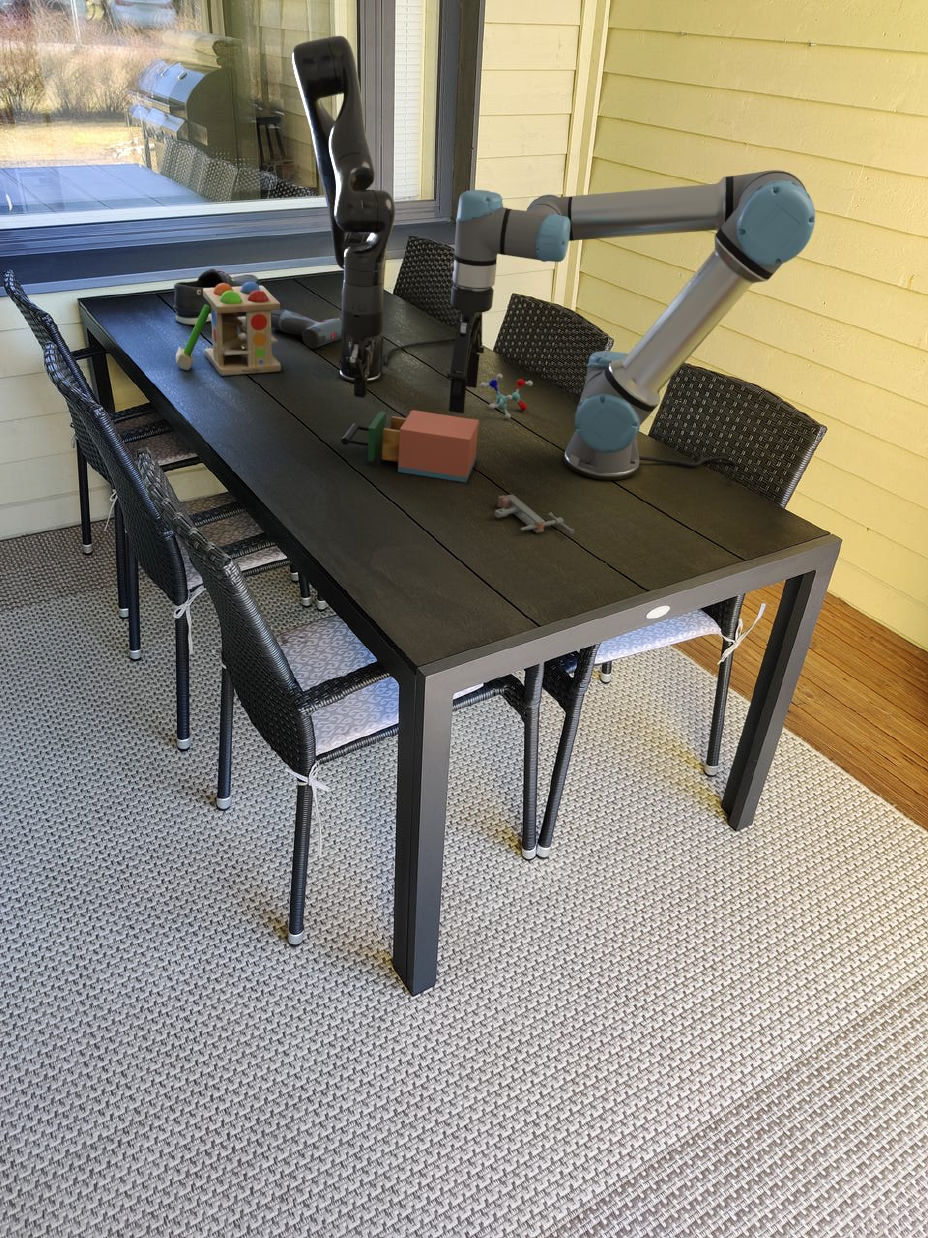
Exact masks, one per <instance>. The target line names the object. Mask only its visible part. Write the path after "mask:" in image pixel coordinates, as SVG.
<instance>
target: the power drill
mask: <svg viewBox="0 0 928 1238" xmlns="http://www.w3.org/2000/svg"><path fill="white" fill-rule="evenodd" d="M271 328H274V329H276V330H278V331H281V332H284V333H288V334H290V335H296V336H300V337H302V341H303V343H304V344H305V346H306V347H308V348H309V349H316V348H319V347H322V346H325V345H328V344H330V343H333V342H336V341H338V340H341V317H338V318H331V319H324V320H322V321H320V322H319V321H316V320H314V319H312V318H309V317H306V316H304V315H302V314H300V313H297V312H293V311H291V310H288V309H283V308H280V310H271Z"/></svg>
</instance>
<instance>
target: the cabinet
mask: <svg viewBox="0 0 928 1238" xmlns="http://www.w3.org/2000/svg"><path fill="white" fill-rule="evenodd" d="M406 418H407V419H406V421H405V422H404V424H403V425H402V427H401V429H400V440H399V460H398V463H397V464H398V465H397V472H398V473H405V474H410V475H416V476H422V477H423V476H424V477H428V478H429V477H430V478H436V479H442V480H447V481H454V482H461V483H467V481H468V480H469V477H470V475H471V473H472V470H473V468H474V465H475V463H476V458H477V448H478V447H477V445H478V436H479V425H480V420H479V419H474V418H467V417H461V416H454V415H447V414H441V413H434V412H428V411H421V410H420V411H419V410H414V409H412V410H411V411H410V412H409V414H408V415H407V417H406Z"/></svg>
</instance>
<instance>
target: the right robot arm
mask: <svg viewBox="0 0 928 1238" xmlns="http://www.w3.org/2000/svg"><path fill="white" fill-rule="evenodd" d="M458 199H459V200H458V206H457V214H456V218H455V240H454V254H453V255H454V256H453V262H451V263H450V265H449V268H450V269H452V270H453V272H452V282H453V284H452V285H451V291H450V306H451V307H452V308H453V309H455V310H458V311H459V312H461V314H460V317H459V318H457V322H456V323H455V324H456V328H455V329H456V331H455V336H456V338H455V339H454V345H453V351H452V357H451V358H452V359H451V365H450V370H449V371H450V372H447V377H446V378H447V379H451V380H450V392H449V403H448V405H449V407H448V412H450V413H457V414H464V413H465V404H466V393H467V388H474V389H476V388H477V386H478V375H479V365H480V354H484V353H485V352H484V351H485V347H483V313H487V312H489V311H491V309H492V308H493V302H494V301H493V300H494V288H493V286H494V285H495V283H496V273H497V259H498V255H502V256H507V257H515V258H522V259H528V260H535V261H540V262H543V263H546V262H552V263H553V262H555V263H560V262H562V261H564V260H565V258H566V255H567V252H568V247H569V242H574V241H584V240H598V239H599V240H600V239H613V238H628V237H642V236H654V235H668V234H669V235H670V234H684V233H697V232H698V233H699V232H712V231H715V232H716V233H715V234H714V249H713V251H712V252H711V254H709V256H708V257H707V258H706V260H705V261H704V262H703V263H702V264H701V265H700V267H699V268H698V269H697V270H696V271H695V273H694V274H693V275H692V276H691V277H690V278H689V280H688V281H687V283H685V285H683V287H682V288H681V290H680V291H679V292H678V293H677V295H676V296H675V297H674V298H673V299H672V301H671V302H670V303H669V304H668V305H667V306H666V307H665V309H664V310H663V311H662V313H661V314H660V315H659V316H658V318H657V319H656V320H655V321H654V322H653V323H652V325H650V327H649V328H648V329H647V331H646V332H645V334H644V335H642V337H641V338H640V339H639V340H638V342H636V344H635V345H634V346H633V348H632V349H631V350H630V351H629V353H626V352H620V351H612V350H611V351H608V350H607V351H606V350H603V351H602V350H601V351H596V352H593V353H592V354H591V355H590V356H589V359H588V363H587V364H586V369H587V370H586V376H585V381H584V385H583V389H582V392H581V396H580V399H579V402H578V405H577V407H576V410H575V412H574V426H575V431H574V433H573V434H572V436H571V438H570V441H569V442H568V444H567V446H566V449H565V452H564V459H563V461H564V465H566V466H567V468H569V469H570V470H571V471H573V472H574V473H577V474H578V475H581V476H584V477H586V478H590V479H593V480H600V481H622V480H627V479H629V478H632V477H634V476H635V475H637V473H638V470H639V466H640V461H647V462H656V463H665V464H672V465H673V464H674V465H678V466H683V467H689V468H695V467H699V466H701V464H703V463H706V462H713V461H725V462H728V463H729V464H731V465H732V466H737V463H736V461H734V460H733V459H732V460H728V458H729V457H728V458H727V456H721V455H720V456H710V457H703V458H701V459H700V460H698V461H696V462H685V461H681V460H678V459H677V460H676V459H670V458H662V457H661V458H660V457H652V456H651V457H650V456H643V455H641V456H640V455H639V447H638V440H637V436H638V435H639V432H640V427H641V426H642V425H643V423H644V422H645V421H646V420H647V419H648V417H650V415H651V414H652V413H653V412H654V411H655V409H657V407H658V406H659V405H660V403H661V398H660V397H661V396H660V392H661V390H662V389H663V388H664V387H665V385H666V384H667V383H668V382H669V381H670V379H672V377H673V376H674V375H675V374H676V372H678V370H679V369H680V368H682V366H683V365H684V364H685V362H686V361H687V360H688V359H689V358H690V357H691V356H692V355H693V353H694V352H695V351H696V350H697V348H699V346H700V345H701V344H702V343H703V342H704V341H705V339H706V338H707V337H708V335H710V334H711V332H713V330H715V328H716V327H717V326H718V325H719V323H721V321H722V320H723V319H724V318H725V316H726V315H728V313H730V311H731V309H732V308H733V307H734V306H735V305H736V304H737V303H738V302H739V300H741V298H742V297H743V296H744V295H745V293H747V291H748V290H749V289H750V288H751V286H753V285H754V284H756V283H763V282H765V283H766V282H768V281H770V279H771V278H772V277H773V275H774V274H775V273H776V272H777V271H779V269H780V268H781V267H782V265H783V264H786V263H788V262H789V261H791V260H793V259H794V258H796V257H797V256H798V255H800V253H802V252H803V250H804V249H805V248H806V247H807V245H808V243H809V242H810V240H811V238H812V235H813V233H814V232H813V231H814V228H815V224H816V210H815V205H814V202H813V199H812V198H811V196H810V193H808V191H807V189H806V187H805V185H804V183H803V182H802V180H801V179H800V178H798V177H797V176H796V175H795V174H793V173H791V172H788V171H785V170H778V169H777V170H776V169H771V170H763V171H758V172H751V173H744V174H738V175H737V174H736V175H729V176H723V177H721V178H720V179H719V181H718V182H716V183H710V184H698V185H696V184H695V185H685V186H674V187H661V188H649V189H640V190H637V189H636V190H627V191H616V192H603V193H592V194H579V195H578V194H577V195H573V196H571V195H570V196H557V195H555V194H544V195H543V194H542V195H540V196H538V197H537V198H535V199H533V201H531V202H530V204H529V205H528V206H527V208H526V210H522V209H513V208H509V207H505V206H504V203H503V196H502V195H501V194H500V193H497V192H495V191H491V190H490V191H489V190H484V189H470V190H466V191H464V192H463V193H462V194H460V196H459V197H458Z"/></svg>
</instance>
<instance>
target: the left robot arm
mask: <svg viewBox="0 0 928 1238" xmlns="http://www.w3.org/2000/svg"><path fill="white" fill-rule="evenodd" d="M291 57H292V66H293V70H294V75H295V79H296V83H297V86H298V90H299V92H300V97H301V100H302V104H303V107H304V111H305V114H306V118H307V121H308V126H309V129H310V134H311V139H312V144H313V148H314V155H315V159H316V164H317V170H318V173H319V177H320V182H321V186H322V190H323V195H324V198H325V202H326V206H327V212H328V217H329V223H330V230H331V239H332V248H333V253H334V259H335V261H336V263H337V265H338V267H339V268H340V269H342V270H343V285H342V290H341V307H340V308H341V310H340V311H341V312H340V314H341V315H340V318H341V338H340V358H339V360H338V365H339V366H340V370H339V376H340V377H341V378H342V380H345V381H348V382H352V383H353V396H354V397H356V398H361V399H364V398H365V397H366V396H367V394H368V384H369V383H373V382H376V381H378V380H380V378H381V375H382V374H383V367H384V366H386V365H387V364H388V361H389V360H388V359H389V356H390V354H392V353H394V352H396V351H400V350H403V349H407V348H411V347H416V346H423V345H424V346H425V345H430V344H436V343H442V342H450V341H453V340H454V341H455V338H456V335H455V336H451V337H445V338H440V339H439V338H438V339H433V340H426V341H418V342H412V343H408V344H404V345H400V346H396V347H394V348H392V349H389V350H388V351H387V352H386V353H385V354H383V353H384V335H383V334H382V332H383V320H384V289H385V275H386V274H385V273H386V263H387V253H388V251H387V249H388V244H389V239H390V236H391V234H392V231H393V228H394V225H395V220H396V209H397V208H396V203H395V200H394V198H393V196H392V195H391V194H390V193H389V192H388V191H387V190H383V189H369V188H370V187H371V186H372V185H373V184H374V182H375V180H376V170H375V166H374V162H373V158H372V154H371V150H370V147H369V143H368V138H367V133H366V125H365V117H364V108H363V99H362V94H361V87H360V81H359V74H358V69H357V63H356V60H355V59H356V58H355V56H354V52H353V49H352V46H351V43H350V42H349V40H348V39H347V38H346V37H345V36H343V35H333V36H328V37H324V38H323V37H322V38H318V39H314V40H307V41H304V42H301V43H298V44H296V45H295V46H294V47H293V49H292V55H291ZM339 95H343V98H342V103H341V106H340V109H339V111H338V114H337V116H336V119H334V117H332V115H331V114H330V113H329V112H328V110H327V109H326V107H325V105H324V104H323V102H322V101H321V99H325V98H329V97H334V96H339Z"/></svg>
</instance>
